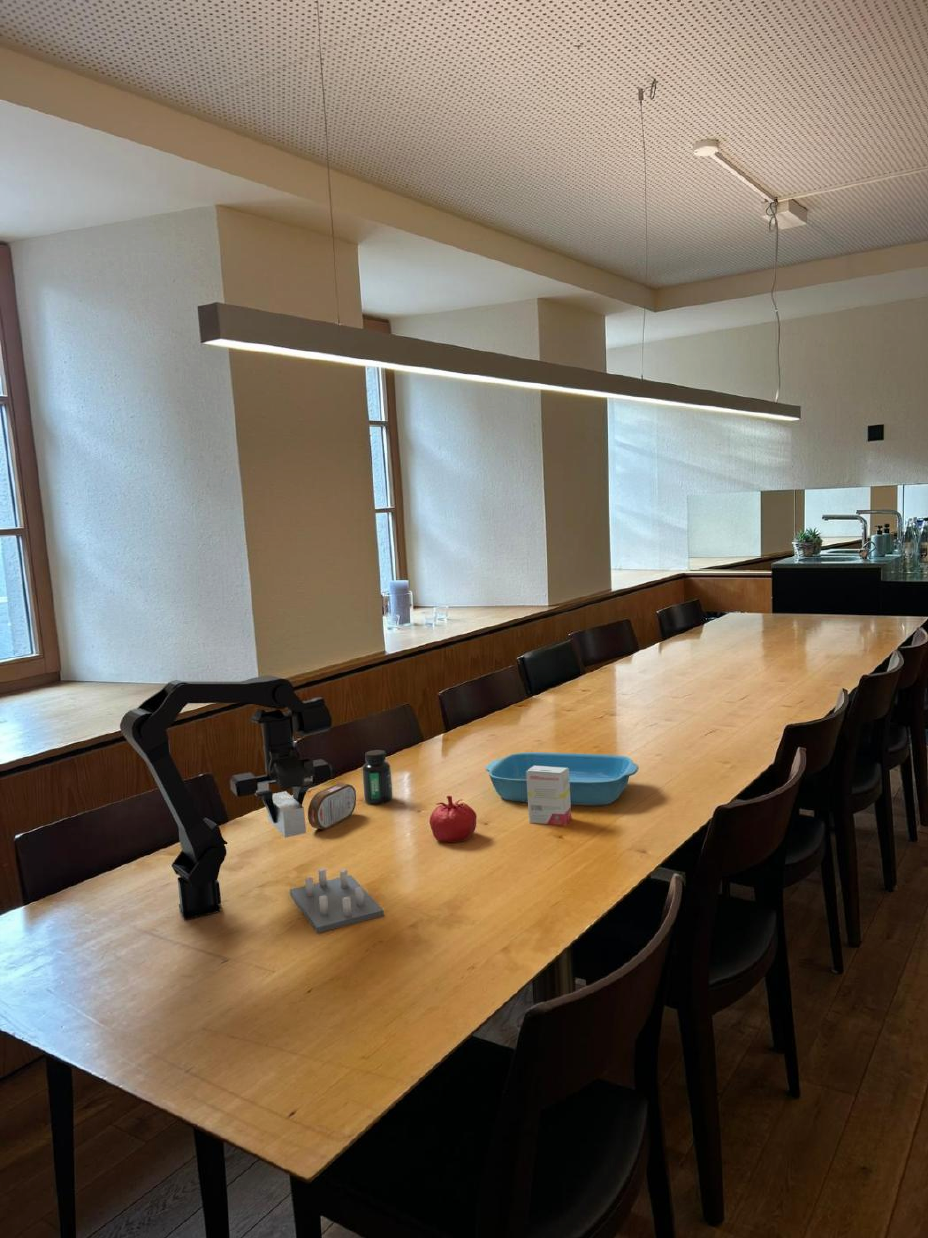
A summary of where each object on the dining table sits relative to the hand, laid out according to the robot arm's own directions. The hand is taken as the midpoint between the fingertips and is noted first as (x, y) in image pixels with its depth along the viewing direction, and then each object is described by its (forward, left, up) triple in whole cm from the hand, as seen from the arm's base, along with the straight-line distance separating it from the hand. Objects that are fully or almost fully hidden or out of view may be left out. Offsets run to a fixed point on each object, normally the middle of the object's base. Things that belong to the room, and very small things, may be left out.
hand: (285, 820), depth 176 cm
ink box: (+58, -1, -12) cm, 59 cm away
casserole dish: (+70, +14, -12) cm, 73 cm away
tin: (+17, +26, -12) cm, 33 cm away
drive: (0, 0, -1) cm, 1 cm away
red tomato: (+36, +2, -12) cm, 38 cm away
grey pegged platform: (+4, -16, -12) cm, 20 cm away
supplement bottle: (+31, +35, -12) cm, 48 cm away
